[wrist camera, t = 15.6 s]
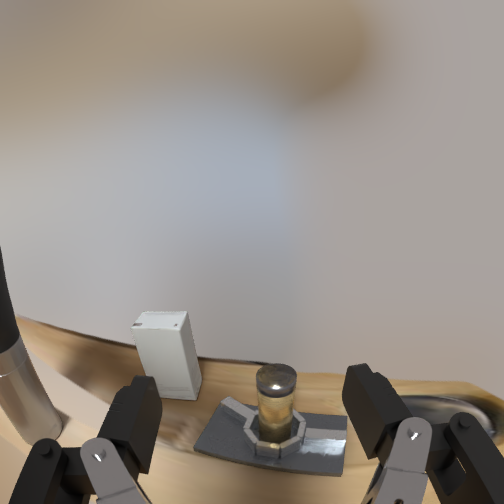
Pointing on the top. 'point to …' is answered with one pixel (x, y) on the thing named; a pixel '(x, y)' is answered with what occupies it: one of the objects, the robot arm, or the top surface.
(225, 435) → the socket base
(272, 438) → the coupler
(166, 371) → the skincare box
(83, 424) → the top surface
